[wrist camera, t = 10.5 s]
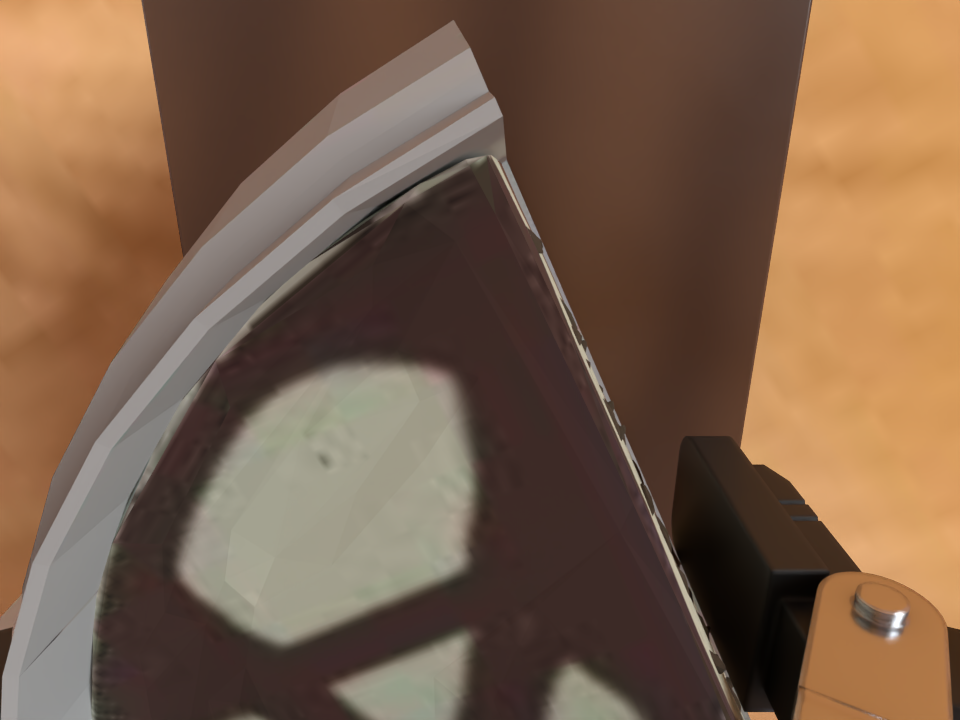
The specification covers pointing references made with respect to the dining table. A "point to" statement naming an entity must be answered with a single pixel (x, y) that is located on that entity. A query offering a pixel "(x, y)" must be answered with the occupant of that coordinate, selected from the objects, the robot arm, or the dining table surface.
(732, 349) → the dark wooden box
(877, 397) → the dining table surface
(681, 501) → the robot arm
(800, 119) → the dining table surface
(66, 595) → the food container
